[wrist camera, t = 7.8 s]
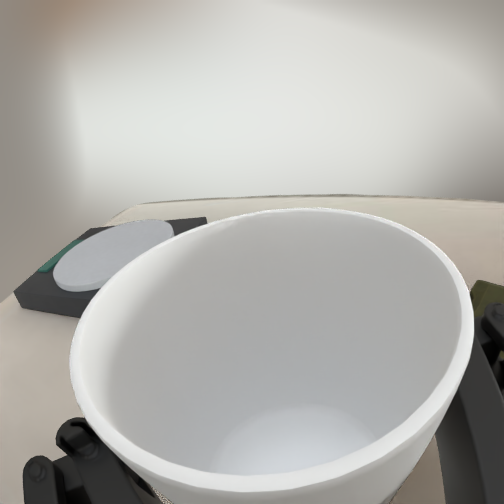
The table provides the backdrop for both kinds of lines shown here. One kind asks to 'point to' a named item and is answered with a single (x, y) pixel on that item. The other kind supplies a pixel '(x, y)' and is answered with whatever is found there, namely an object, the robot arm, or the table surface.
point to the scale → (94, 264)
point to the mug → (276, 358)
